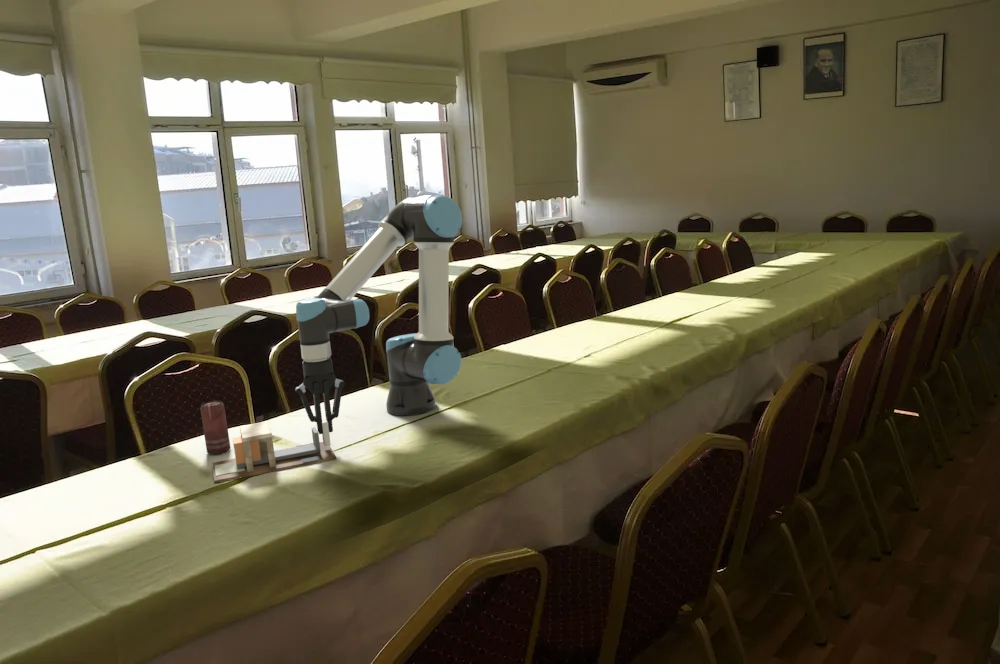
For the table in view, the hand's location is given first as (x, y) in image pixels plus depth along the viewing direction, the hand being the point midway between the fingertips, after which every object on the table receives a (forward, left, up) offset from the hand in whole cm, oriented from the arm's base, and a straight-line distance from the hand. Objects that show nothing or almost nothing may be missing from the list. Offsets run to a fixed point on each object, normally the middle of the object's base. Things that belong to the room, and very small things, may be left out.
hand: (326, 444), depth 208 cm
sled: (+13, 0, -1) cm, 13 cm away
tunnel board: (+14, 0, -2) cm, 14 cm away
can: (+27, -17, -2) cm, 32 cm away
